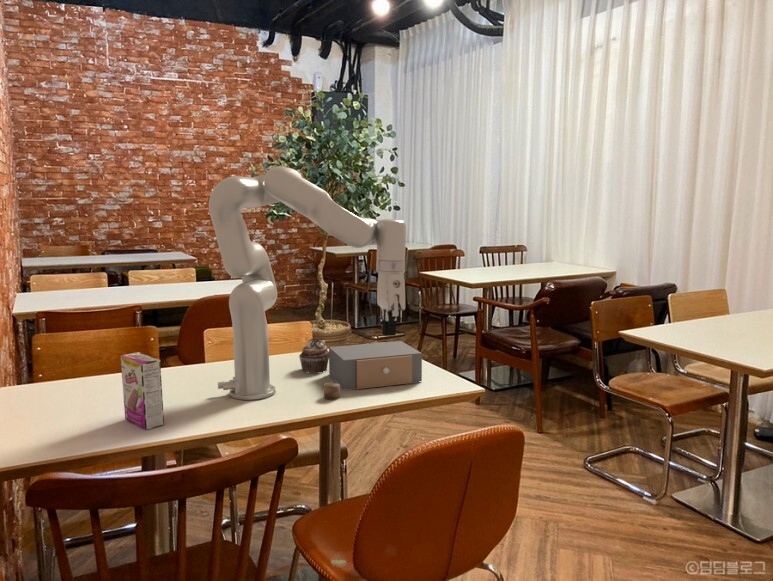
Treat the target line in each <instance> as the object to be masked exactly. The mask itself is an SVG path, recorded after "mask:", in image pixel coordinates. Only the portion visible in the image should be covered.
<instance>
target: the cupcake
mask: <svg viewBox="0 0 773 581" xmlns="http://www.w3.org/2000/svg"><path fill="white" fill-rule="evenodd" d="M301 351H302V352H301V353H300V354H299V355H298V356H299V361H300V365H301V370H303V371H304V372H303V371H302V372H303V373H305V372H309V373H308V374H319V373H318V372H322V373H324V372H323V371H325V370H326V371H328V366H329V365H328V364H329V347H328V345H326V341H325V339H324V338H312V337H311V338H310V339H308V340H307V343H306V344H305V345H304V346H303V348H302V349H301ZM326 371H325V372H326Z"/></svg>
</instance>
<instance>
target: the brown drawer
mask: <svg viewBox="0 0 773 581" xmlns="http://www.w3.org/2000/svg"><path fill="white" fill-rule="evenodd" d="M405 384H413V383H412V355H409V356H399V357H388V358H377V359H366V360H356V388H357V389H356V390H359V389H360V390H361V389H368V388H370V389H371V388H377V387H378V388H379V387H387V386H396V385H405Z"/></svg>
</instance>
